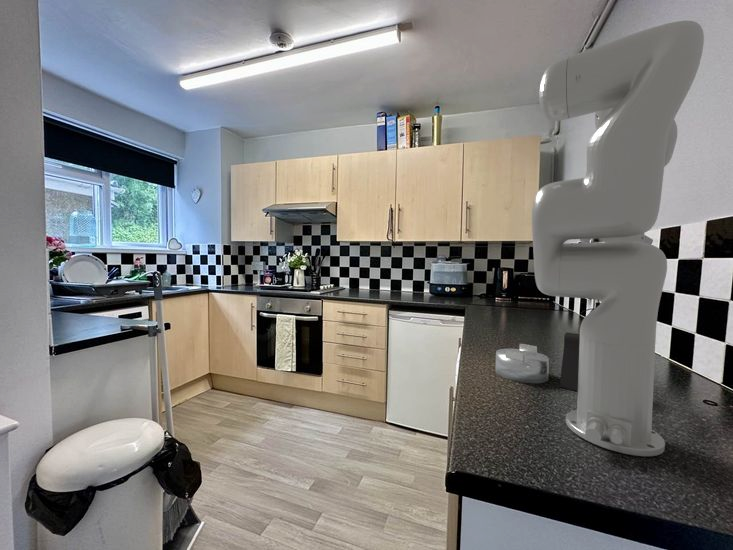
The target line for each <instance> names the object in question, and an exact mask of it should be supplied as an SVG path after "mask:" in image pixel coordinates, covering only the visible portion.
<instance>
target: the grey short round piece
mask: <svg viewBox="0 0 733 550" xmlns="http://www.w3.org/2000/svg"><path fill="white" fill-rule="evenodd" d="M518 347H519V348H500V349H497V350H496V351H495V373H496V374H497V375H498V376H500V377H502V378H504V379H507V380H510V381H512V382H518V383H523V384H543V383H546V382H548V381H549V369H550V368H549V365H550V357H548V356H547V355H546V354H543V353H541V352H540V353H539V352H538V347H537V345H530V344H525V343H519V345H518Z"/></svg>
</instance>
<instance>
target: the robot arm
mask: <svg viewBox="0 0 733 550" xmlns="http://www.w3.org/2000/svg"><path fill="white" fill-rule="evenodd" d="M704 42H705V35H704V30H703V27H702V25H701V24H700V23H698V22H697V21H694V20H679V21H673V22H670V23H669V22H668V23H664V24H660V25H657V26H653V27H651V28H647V29H644V30H641V31H638V32H635V33H631V34H629V35H626V36H623V37H621V38H617V39H615V40H612V41H609V42H607V43H603V44H601V45H598V46H596V47H595V46H594V47H592V48H590V49H587V50H584V51H581V52H579V53H575V54H573V55H570V56H567V57H565V58H562V59H559V60H556V61H554V62H553V63H551V64H550V65H548V67H547V68H546V69H545V71H544V73H543V75H542V77H541V80H540V83H539V84H540V85H539V91H538V96H539V97H538V98H539V106H540V108H541V111H542V114H543V116H544V117H545V118H546V119H547V120H549V121H551V122H560V121H565V120H570V119H573V118H577V117H581V116H585V115H589V114H594V125H595V130H594V132H593V133H592V135H591V136H590V137H589V141H588V142H587V146H586V172H585V173H586V174H585V176H584V177H581V178H573V179H567V180H559V181H554V182H550V183H548V184H547V183H546V184H545V185H544V186H542V187H541V188H540V189H539V190H538V191H537V192H536V194H535V196H534V199H533V203H532V209H531V232H532V234H531V235H532V248H533V251H532V253H533V270H534V279H535V284H536V287H537V289H538V290H539V291H540V292H541V293H542V294H544V295H547V296H549V297H550V296H551V297H560V298H575V299H576V298H577V299H591V300H597V301H600V304H599V305H598V306H596V307H595V308H594V309H593V310H591V311H590V312H589V313H588V314H587V315H586V316H585V317H584V318H583V319H582V321H581V323H580V327H579V334H580V344H579V371H578V392H577V402H576V403H577V404H576V405H577V407H576V409H574V410H571V411H569V412H567V414H565V423H566V426H567V427H568V428H569V429H570V430H571V431H572V432H573V433H574V434H576V435H577V436H578V437H580V438H582V439H583V440H585V441H587V442H589V443H591V444H593V445H595V446H598V447H600V448H603V449H606V450H610V451H613V452H616V453H620V454H624V455H630V456H637V457H655V456H659V455H662V454H663V453H664V452H665V449H666V448H665V447H666V442H665V439H664V438H663V436H661V435H660V434H659V433H658V432H657V431H655V430H654V429H652V427H653V425H652V424H653V423H652V422H653V402H654V385H655V384H654V379H655V378H654V377H655V358H656V356H655V355H656V341H657V340H656V336H657V321H658V315H659V314H658V312H659V307H660V303H661V302H660V301H661V297H662V293H663V289H664V286H665V280H666V278H667V277H666V276H667V272H668V260H667V257H666V255H665V253H664V251H663V250H662V249H660V248H659V247H658V246H656V245H653V244H652V243H653V242H654V240H653V238H651V237H650V236H648V235H646V234H645V233H647V232H648V231H649V232H650V230H651V229H653V227H654V226H655V224H656V223H657V219H658V217H659V212H660V208H661V200H662V199H661V198H662V191H663V190H662V189H663V183H664V182H663V181H664V172H665V168H666V166H667V165H668V164H670V161H671V160H672V157H673V155H674V151H675V148H676V144H677V140H678V126H677V122H676V120H675V118H676V116H677V115H678V112H679V111H680V109H681V106H682V104H683V103H684V101H685V99H686V97H687V95H688V94H689V91H690V89H691V87H692V85H693V82H694V80H695V79H696V77H697V73H698V70H699V68H700V67H699V66H700V64H701V59H702V56H703V49H704ZM570 240H579V241H580V242H571V243H569V242H567V241H570ZM566 242H567V243H566Z"/></svg>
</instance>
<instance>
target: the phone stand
mask: <svg viewBox="0 0 733 550" xmlns="http://www.w3.org/2000/svg"><path fill="white" fill-rule="evenodd" d="M579 344H580V333H573V332H565V333H564V337H563V352H562V360H561V369H560V371H561V372H560V378H559V379H560V380H559V388H562V389H566V390H569V391H573V392H577V393H578V371H579Z"/></svg>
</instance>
